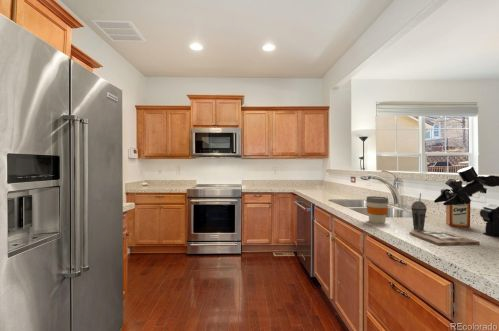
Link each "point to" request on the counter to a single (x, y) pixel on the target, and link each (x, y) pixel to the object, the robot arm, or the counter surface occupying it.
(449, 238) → the base board
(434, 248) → the counter surface
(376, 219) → the reusable coffee cup
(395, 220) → the counter surface
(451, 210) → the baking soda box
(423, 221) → the beverage cup
